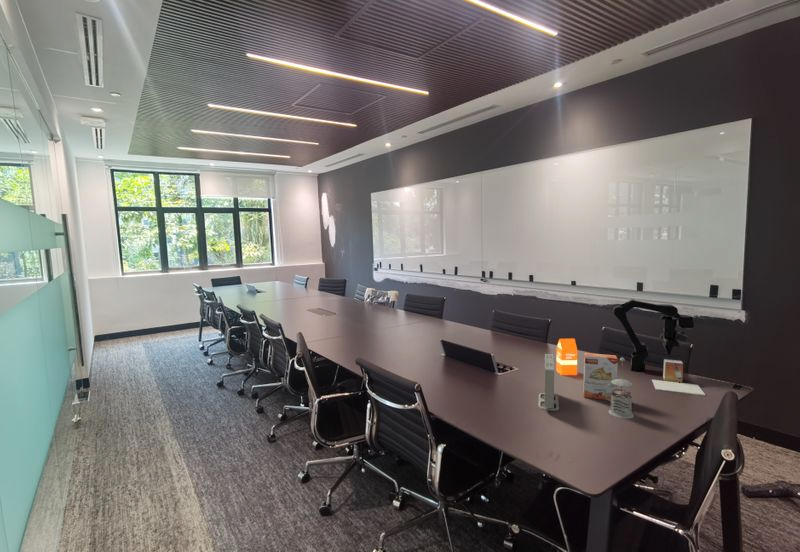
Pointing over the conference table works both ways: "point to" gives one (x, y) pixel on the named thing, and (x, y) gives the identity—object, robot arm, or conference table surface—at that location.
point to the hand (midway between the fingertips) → (668, 354)
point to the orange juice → (567, 357)
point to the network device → (549, 386)
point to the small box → (673, 370)
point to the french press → (619, 409)
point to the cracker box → (599, 375)
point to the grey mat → (678, 387)
